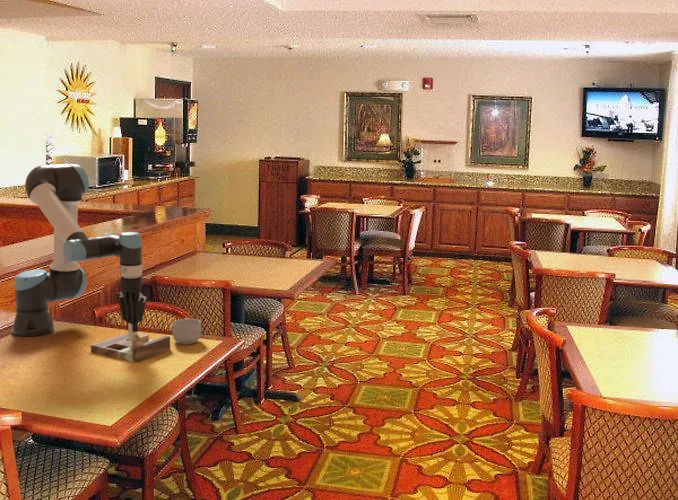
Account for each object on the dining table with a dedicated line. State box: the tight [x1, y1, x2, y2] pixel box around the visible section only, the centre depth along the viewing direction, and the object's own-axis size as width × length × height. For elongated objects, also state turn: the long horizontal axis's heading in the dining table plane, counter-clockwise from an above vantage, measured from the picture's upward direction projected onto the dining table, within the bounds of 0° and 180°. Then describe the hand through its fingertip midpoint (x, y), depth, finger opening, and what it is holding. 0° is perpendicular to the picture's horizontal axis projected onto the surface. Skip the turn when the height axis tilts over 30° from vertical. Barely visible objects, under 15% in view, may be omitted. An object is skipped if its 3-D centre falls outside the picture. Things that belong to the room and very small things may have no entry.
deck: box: [90, 333, 171, 363], centre depth 272 cm, size 22×17×5 cm
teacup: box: [171, 317, 202, 346], centre depth 285 cm, size 14×11×8 cm
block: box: [132, 332, 150, 347], centre depth 270 cm, size 4×4×4 cm
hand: (132, 339), depth 272 cm, fingers closed
